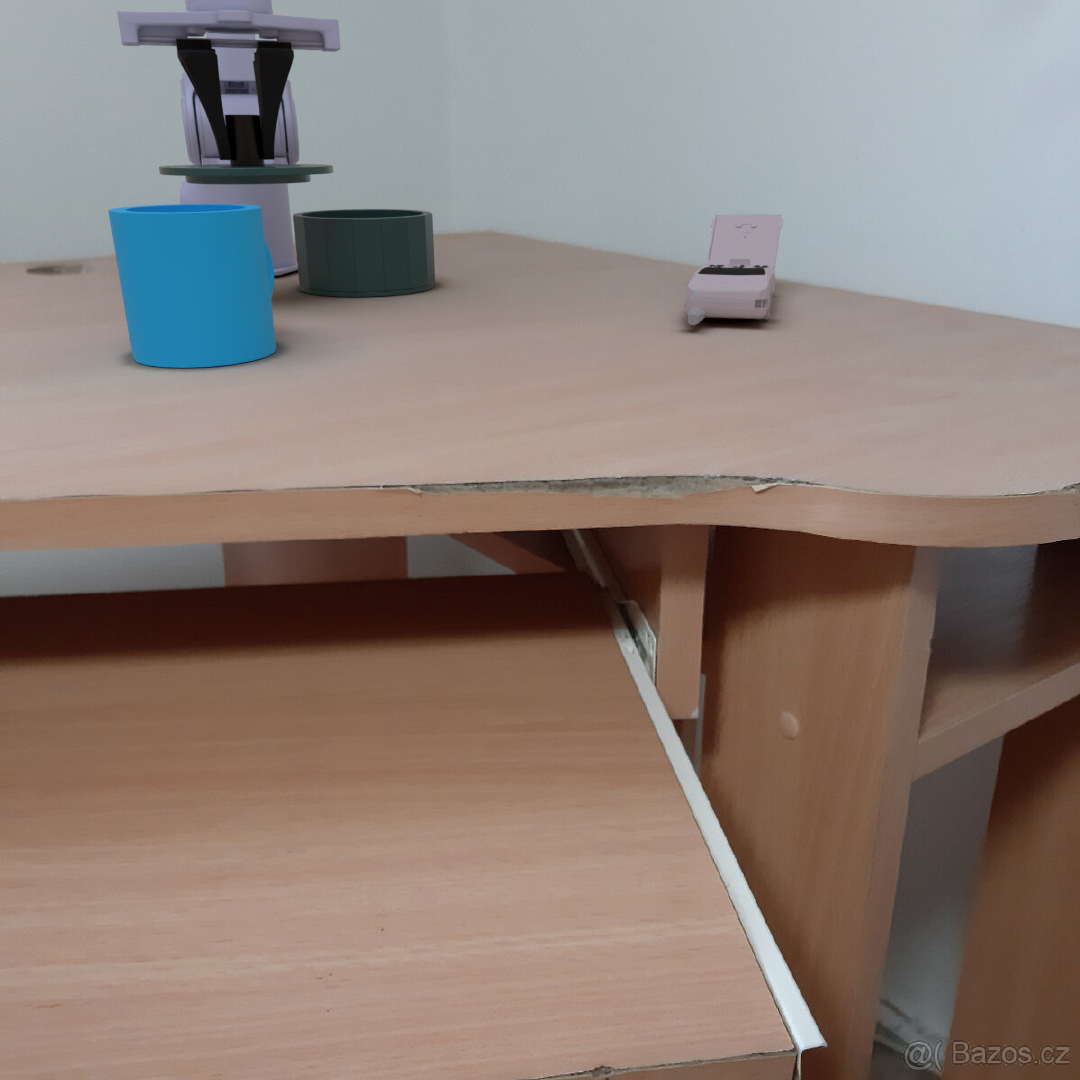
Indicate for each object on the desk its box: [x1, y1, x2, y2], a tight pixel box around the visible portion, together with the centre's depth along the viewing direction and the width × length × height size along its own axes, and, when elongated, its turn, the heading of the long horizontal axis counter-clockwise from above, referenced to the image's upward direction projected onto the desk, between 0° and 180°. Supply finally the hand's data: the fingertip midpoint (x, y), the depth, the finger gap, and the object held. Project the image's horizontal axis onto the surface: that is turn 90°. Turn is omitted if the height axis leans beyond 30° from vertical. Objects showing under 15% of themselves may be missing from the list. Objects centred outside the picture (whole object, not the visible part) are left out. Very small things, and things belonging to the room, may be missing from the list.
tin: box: [292, 208, 436, 298], centre depth 81 cm, size 11×11×6 cm
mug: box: [107, 203, 277, 369], centre depth 57 cm, size 12×8×8 cm
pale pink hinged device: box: [684, 213, 784, 326], centre depth 72 cm, size 6×6×25 cm
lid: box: [158, 115, 334, 185], centre depth 69 cm, size 12×12×4 cm
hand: (246, 159), depth 70 cm, fingers closed on lid, 2 cm apart
